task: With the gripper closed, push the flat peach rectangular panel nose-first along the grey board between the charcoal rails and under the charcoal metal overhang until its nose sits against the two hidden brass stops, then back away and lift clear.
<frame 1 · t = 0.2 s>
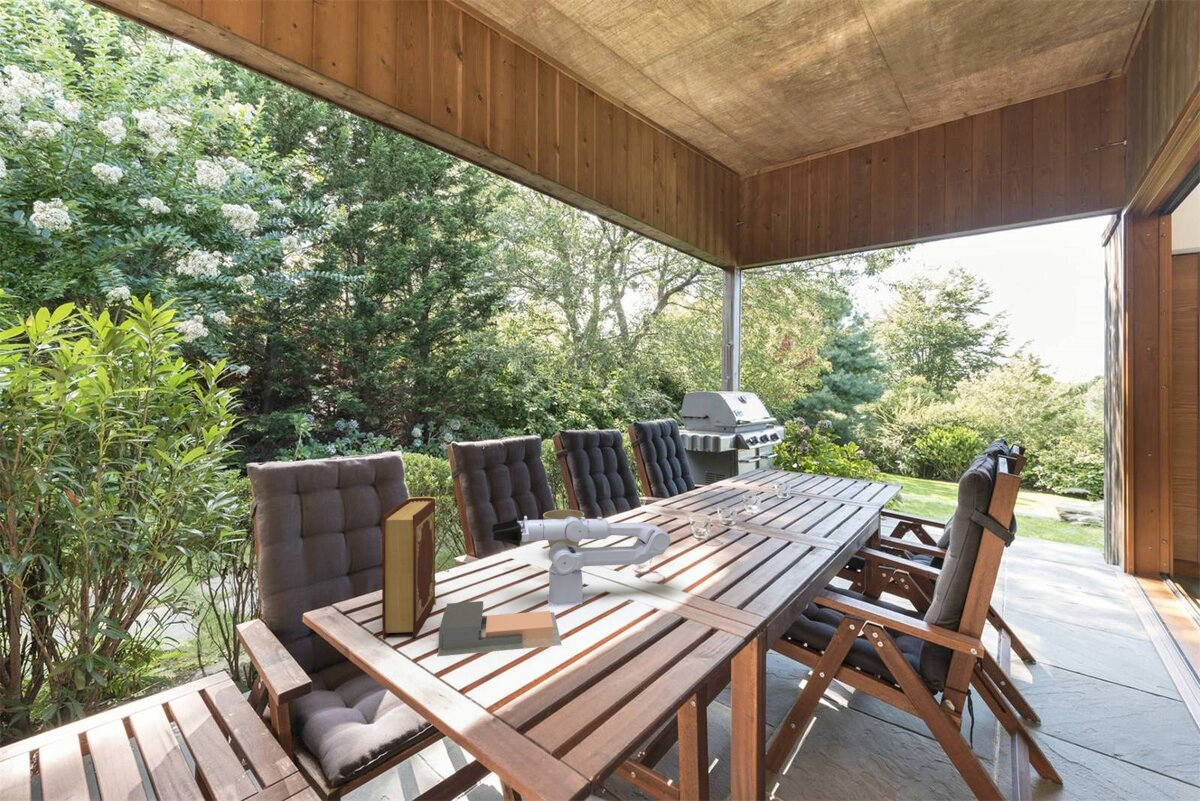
hand: (492, 531, 138), 21 cm above the table, tool horizontal, fingers open, 7 cm apart
plant pot: (563, 558, 181), on the table
dock: (480, 636, 122), on the table
decorative book: (412, 619, 131), on the table
peach rectangular panel: (519, 630, 124), point 1 cm above the table, touching dock
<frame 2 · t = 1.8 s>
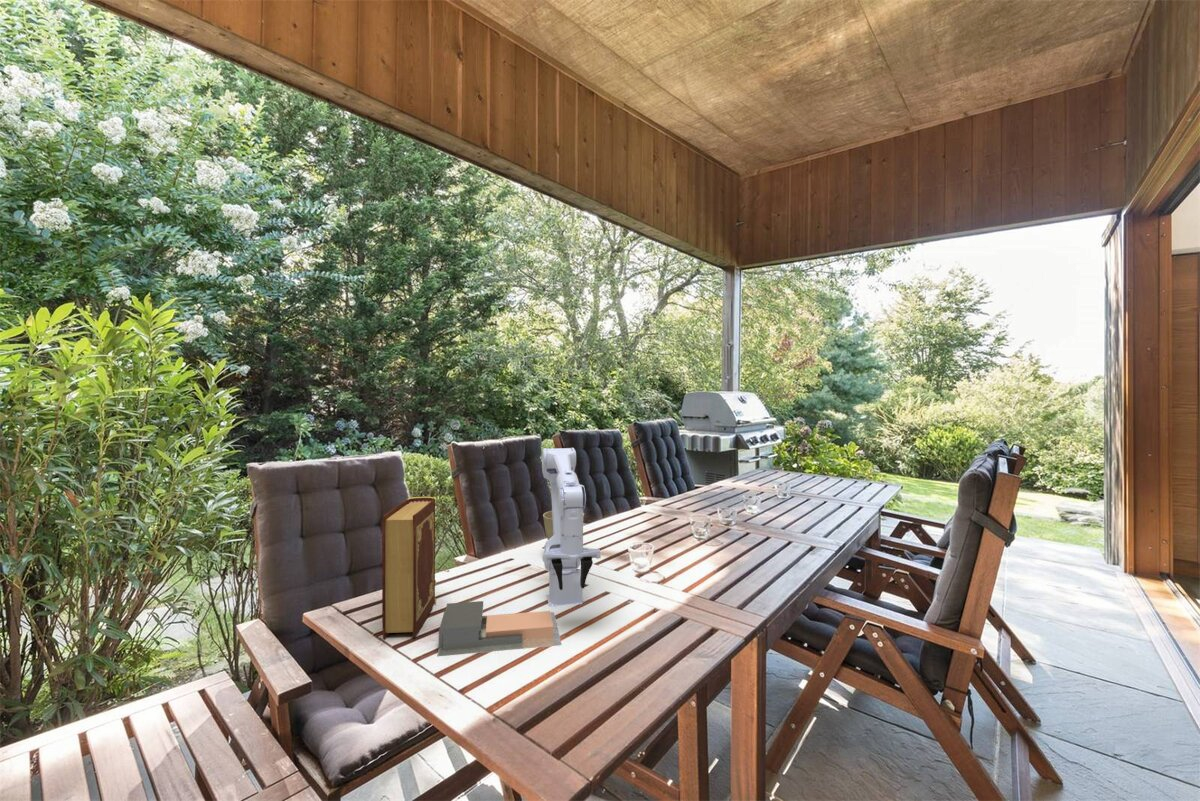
hand: (571, 587, 126), 10 cm above the table, tool pointing down, fingers open, 5 cm apart
nothing on the table moved.
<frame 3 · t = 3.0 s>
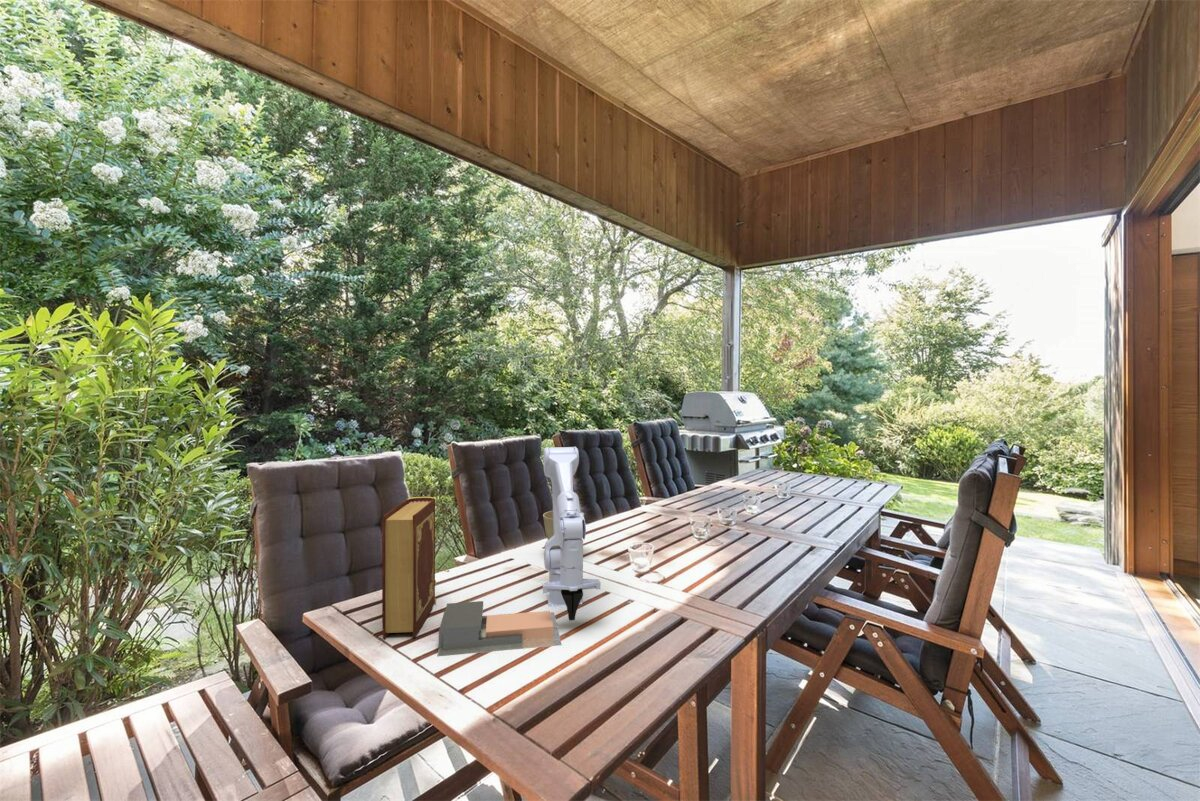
hand: (571, 618, 126), 3 cm above the table, tool pointing down, fingers closed
nothing on the table moved.
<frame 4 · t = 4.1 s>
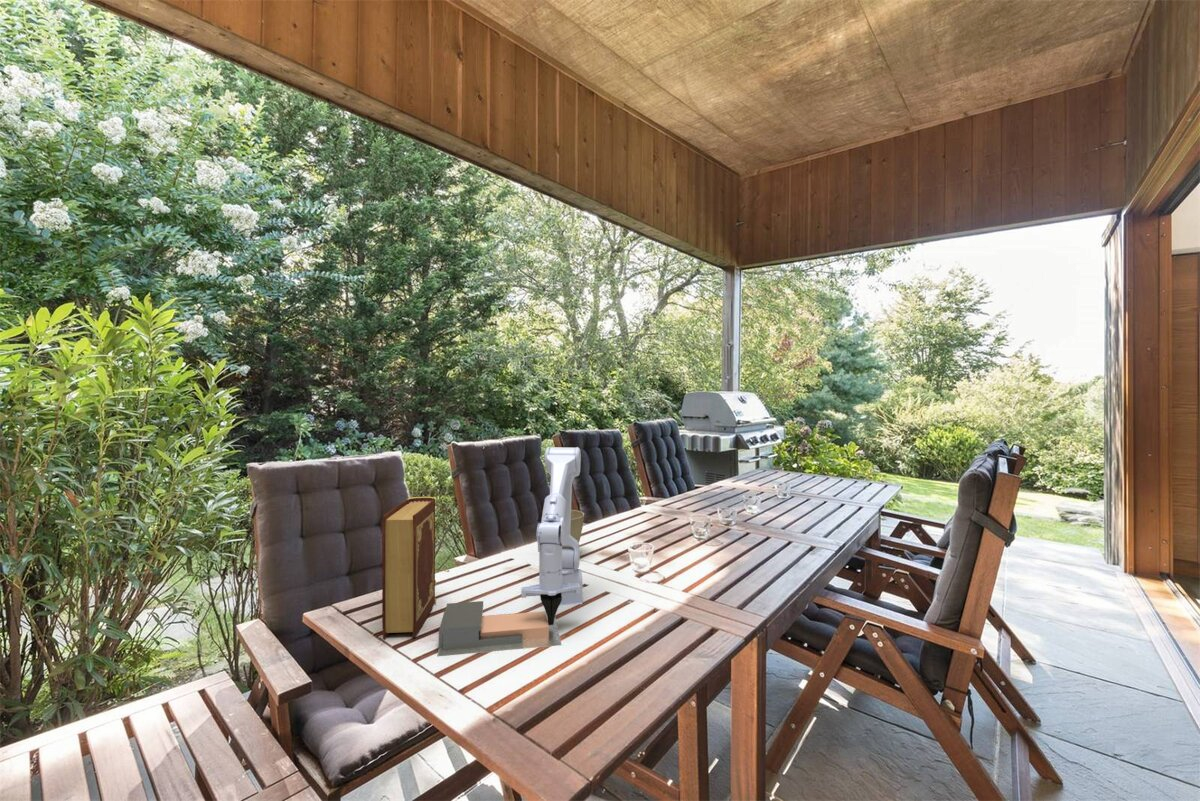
hand: (550, 623, 125), 2 cm above the table, tool pointing down, fingers closed
peach rectangular panel: (514, 631, 123), point 1 cm above the table, touching gripper
everything else where it was.
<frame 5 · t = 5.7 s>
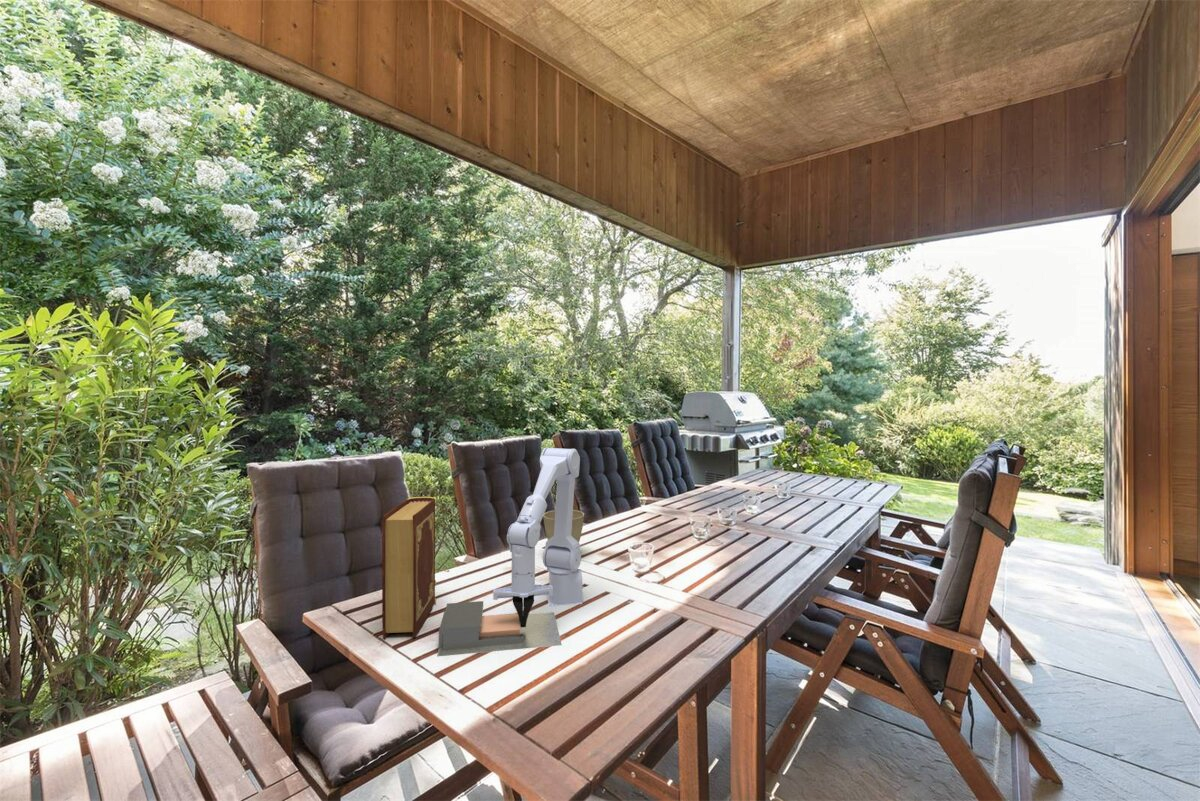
hand: (523, 625, 124), 2 cm above the table, tool pointing down, fingers closed
peach rectangular panel: (486, 633, 122), point 1 cm above the table, touching gripper
everything else where it was.
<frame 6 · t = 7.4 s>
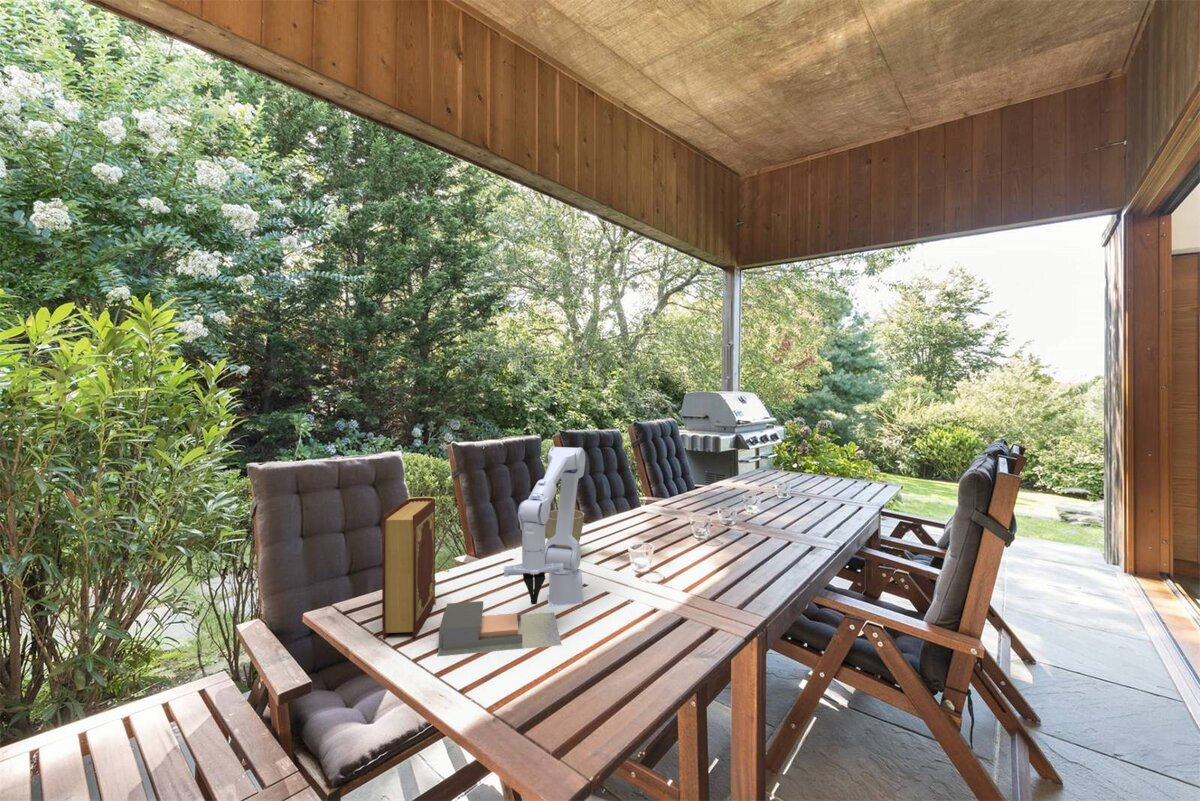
hand: (533, 602, 124), 7 cm above the table, tool pointing down, fingers closed
peach rectangular panel: (484, 633, 122), point 1 cm above the table, touching dock
everything else where it was.
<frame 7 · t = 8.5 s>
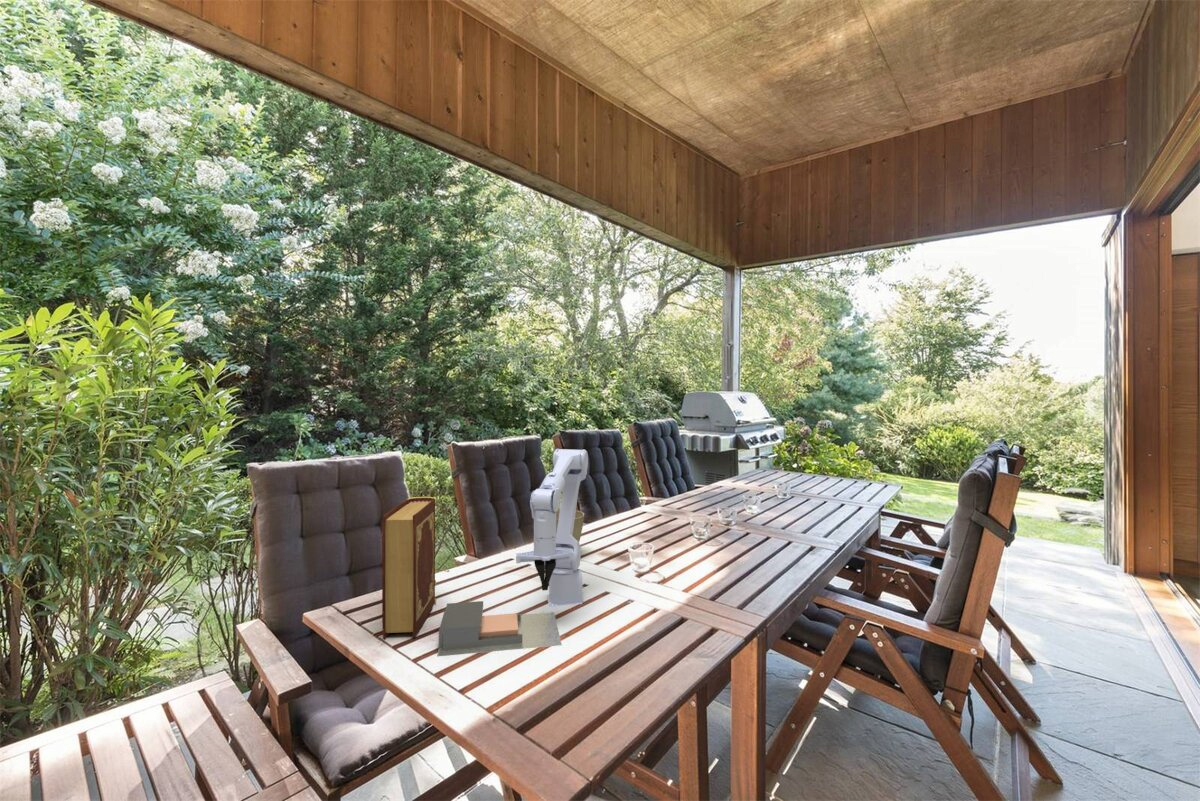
hand: (544, 588, 128), 9 cm above the table, tool pointing down, fingers closed
nothing on the table moved.
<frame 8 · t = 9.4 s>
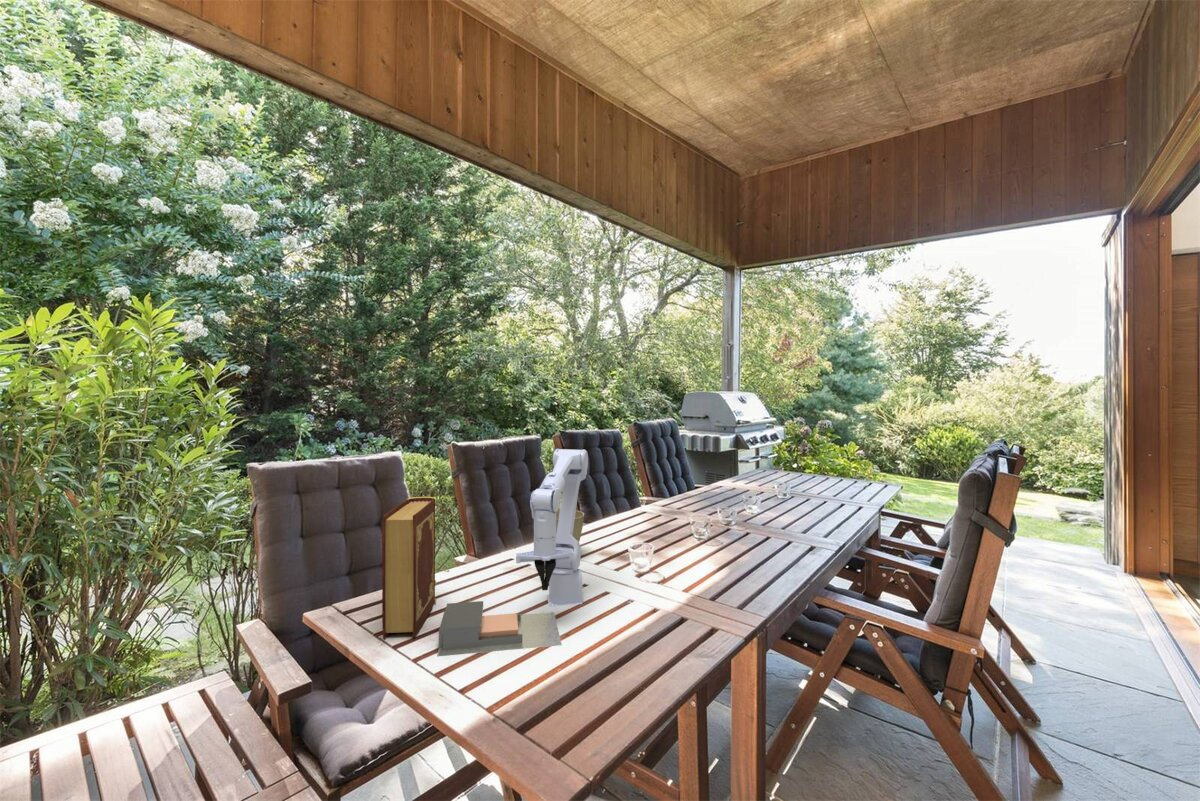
hand: (544, 588, 128), 9 cm above the table, tool pointing down, fingers closed
nothing on the table moved.
at the end: peach rectangular panel 0.0 cm off-centre on the dock, point 0.6 cm above the dock's base; peach rectangular panel tilted 0°; peach rectangular panel moved 8.5 cm from its start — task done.
